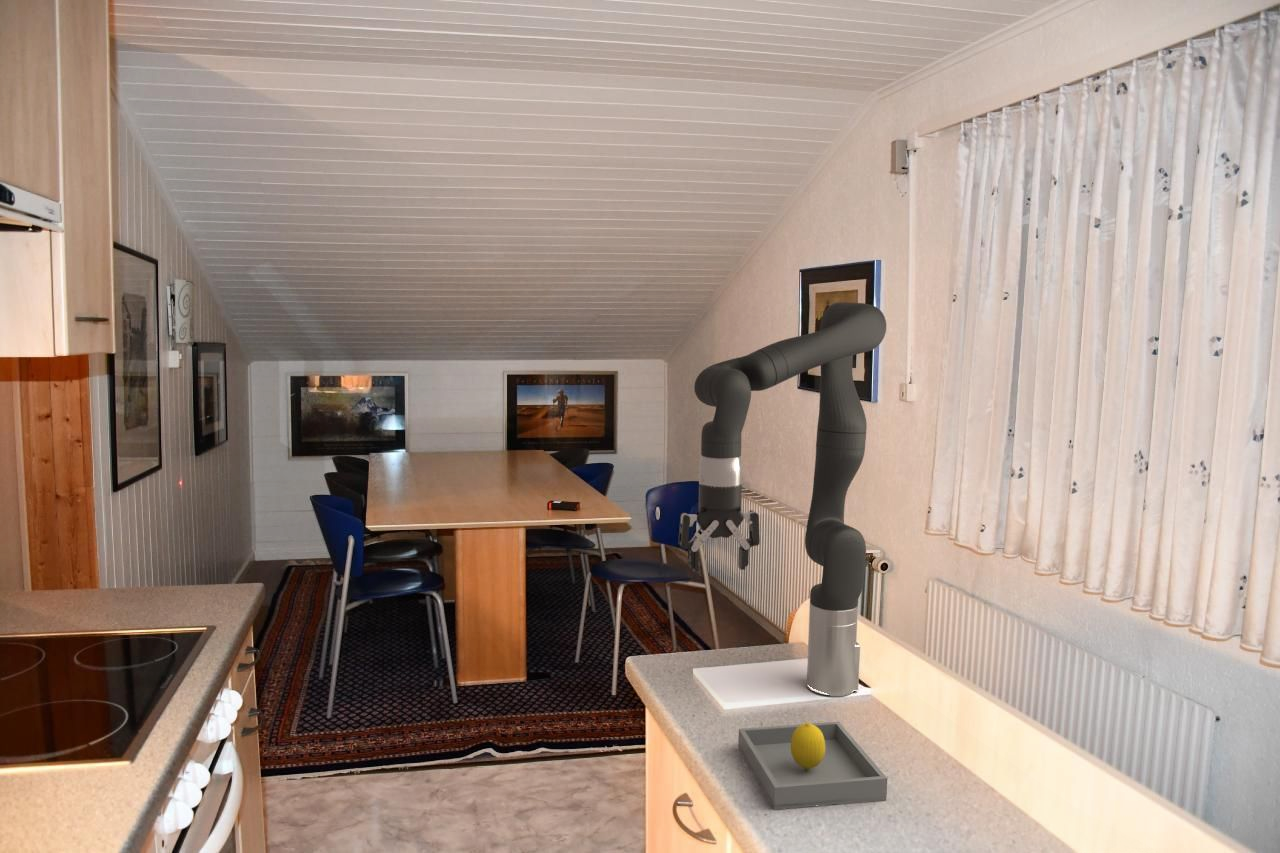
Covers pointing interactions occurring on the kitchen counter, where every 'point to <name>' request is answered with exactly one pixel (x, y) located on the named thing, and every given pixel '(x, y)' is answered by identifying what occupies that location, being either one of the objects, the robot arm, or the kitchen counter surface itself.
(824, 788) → the tray
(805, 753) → the lemon
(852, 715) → the kitchen counter surface
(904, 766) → the kitchen counter surface
